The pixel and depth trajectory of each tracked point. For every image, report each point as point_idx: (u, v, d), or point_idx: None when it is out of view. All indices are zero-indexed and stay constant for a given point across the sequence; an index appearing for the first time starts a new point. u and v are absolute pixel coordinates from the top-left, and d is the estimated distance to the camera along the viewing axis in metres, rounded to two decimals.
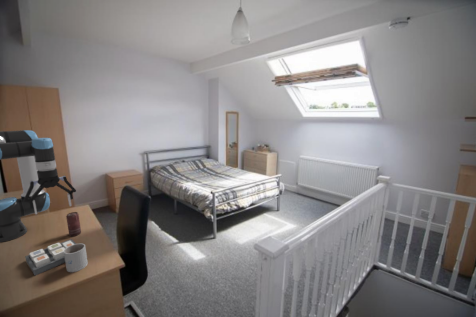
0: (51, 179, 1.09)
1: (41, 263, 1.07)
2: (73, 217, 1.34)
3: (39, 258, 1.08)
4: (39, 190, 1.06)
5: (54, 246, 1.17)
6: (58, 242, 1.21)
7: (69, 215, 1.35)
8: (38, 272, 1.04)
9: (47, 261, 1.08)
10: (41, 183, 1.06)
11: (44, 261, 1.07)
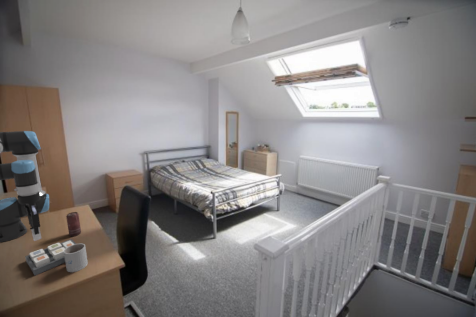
0: (28, 205, 1.01)
1: (41, 263, 1.07)
2: (73, 217, 1.34)
3: (39, 258, 1.08)
4: (28, 215, 1.03)
5: (54, 246, 1.17)
6: (58, 242, 1.21)
7: (69, 215, 1.35)
8: (38, 272, 1.04)
9: (47, 261, 1.08)
10: None
11: (44, 261, 1.07)
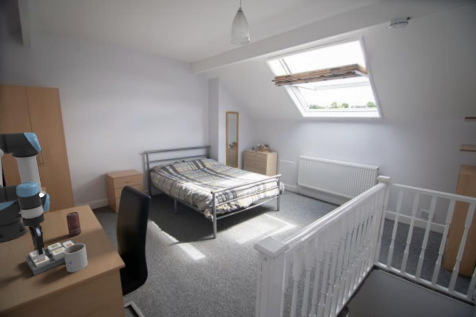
0: (32, 226, 1.03)
1: (41, 265, 1.07)
2: (73, 217, 1.34)
3: None
4: (32, 236, 1.05)
5: (54, 246, 1.17)
6: (58, 242, 1.21)
7: (69, 215, 1.35)
8: (38, 272, 1.04)
9: None
10: (30, 226, 1.06)
11: (44, 263, 1.08)
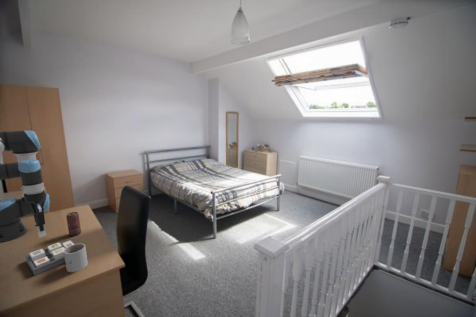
0: (33, 203, 1.05)
1: None
2: (73, 217, 1.34)
3: (40, 261, 1.08)
4: (34, 212, 1.07)
5: (54, 246, 1.17)
6: (58, 242, 1.21)
7: (69, 215, 1.35)
8: (38, 272, 1.04)
9: None
10: (32, 203, 1.07)
11: None
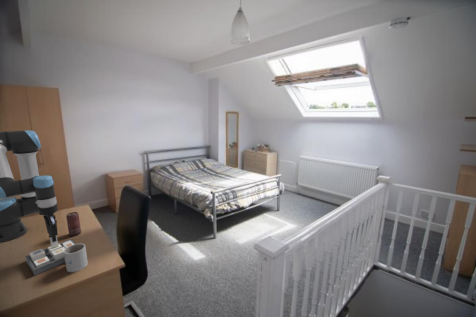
0: (47, 216, 1.13)
1: None
2: (73, 217, 1.34)
3: (40, 261, 1.08)
4: (47, 224, 1.15)
5: (54, 247, 1.17)
6: (58, 243, 1.21)
7: (69, 215, 1.35)
8: (38, 272, 1.04)
9: None
10: (45, 216, 1.15)
11: None
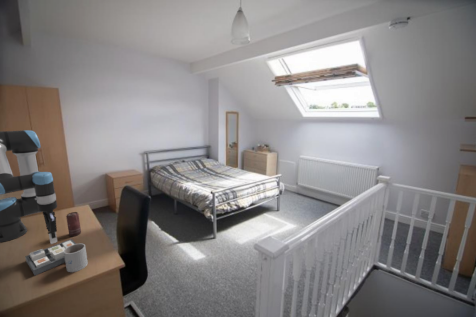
0: (46, 212, 1.13)
1: None
2: (73, 217, 1.34)
3: (40, 261, 1.08)
4: None
5: (54, 248, 1.18)
6: None
7: (69, 215, 1.35)
8: (38, 272, 1.04)
9: None
10: (44, 212, 1.15)
11: None
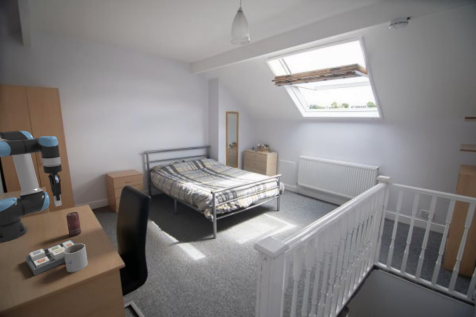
0: (51, 174, 1.18)
1: None
2: (73, 217, 1.34)
3: (40, 261, 1.08)
4: (51, 183, 1.20)
5: (54, 248, 1.18)
6: None
7: (69, 215, 1.35)
8: (38, 272, 1.04)
9: None
10: None
11: None
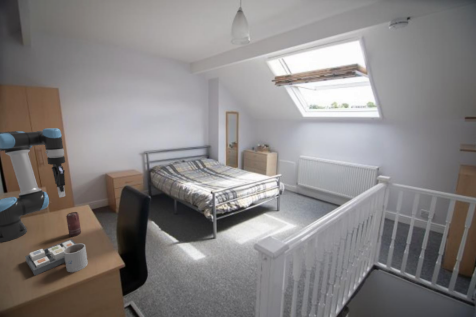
0: (55, 166, 1.21)
1: None
2: (73, 217, 1.34)
3: (40, 261, 1.08)
4: (55, 175, 1.23)
5: (54, 248, 1.18)
6: None
7: (69, 215, 1.35)
8: (38, 272, 1.04)
9: None
10: None
11: None
